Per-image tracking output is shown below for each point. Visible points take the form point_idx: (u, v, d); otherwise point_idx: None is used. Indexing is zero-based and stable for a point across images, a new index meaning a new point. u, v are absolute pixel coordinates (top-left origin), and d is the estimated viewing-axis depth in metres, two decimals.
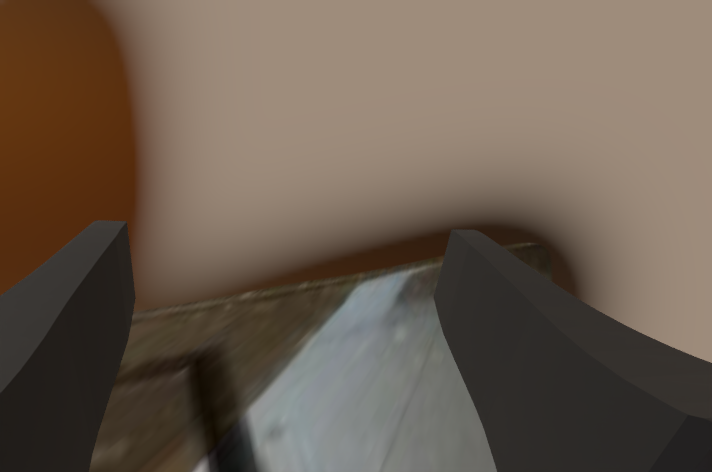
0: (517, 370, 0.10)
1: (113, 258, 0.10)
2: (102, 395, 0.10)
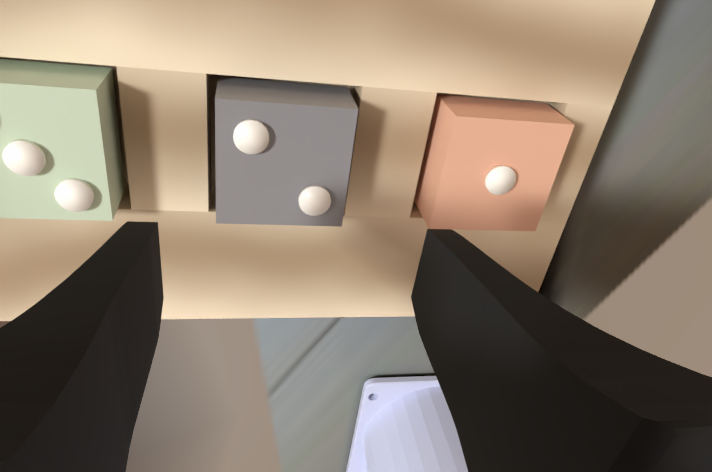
0: (487, 371, 0.10)
1: (147, 258, 0.10)
2: (137, 393, 0.10)
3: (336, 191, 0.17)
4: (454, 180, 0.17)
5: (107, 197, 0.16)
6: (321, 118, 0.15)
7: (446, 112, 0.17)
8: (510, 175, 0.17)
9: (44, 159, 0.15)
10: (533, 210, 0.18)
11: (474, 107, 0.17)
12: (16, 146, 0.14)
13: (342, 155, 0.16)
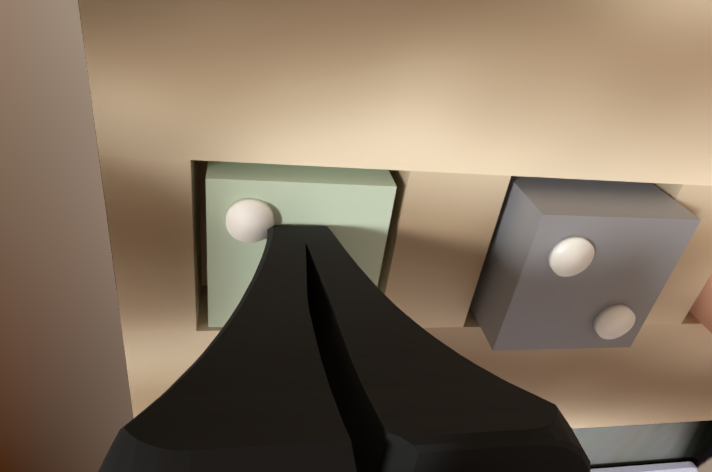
0: (326, 377, 0.09)
1: None
2: None
3: (639, 310, 0.14)
4: None
5: None
6: (655, 231, 0.12)
7: None
8: None
9: None
10: None
11: None
12: None
13: (662, 271, 0.13)
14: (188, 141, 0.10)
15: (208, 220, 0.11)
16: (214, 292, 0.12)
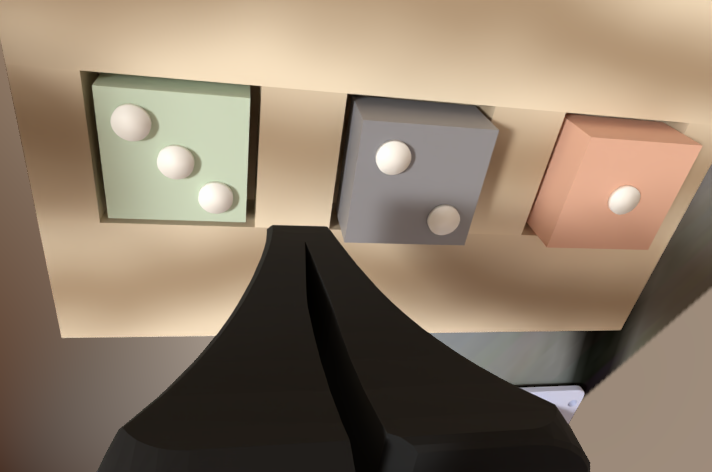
0: (326, 377, 0.09)
1: None
2: None
3: (464, 211, 0.17)
4: (579, 200, 0.17)
5: (244, 200, 0.16)
6: (462, 139, 0.15)
7: (575, 132, 0.17)
8: (635, 195, 0.17)
9: (194, 163, 0.15)
10: (649, 229, 0.18)
11: (601, 127, 0.17)
12: (170, 151, 0.15)
13: (476, 175, 0.16)
14: (76, 54, 0.13)
15: (98, 122, 0.14)
16: (110, 186, 0.15)
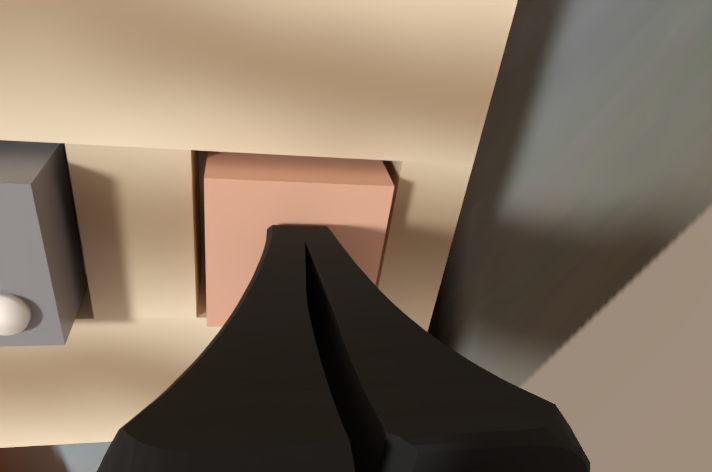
0: (326, 377, 0.09)
1: None
2: None
3: (37, 299, 0.11)
4: (227, 264, 0.12)
5: None
6: None
7: None
8: None
9: None
10: None
11: (250, 160, 0.12)
12: None
13: (28, 251, 0.10)
14: None
15: None
16: None
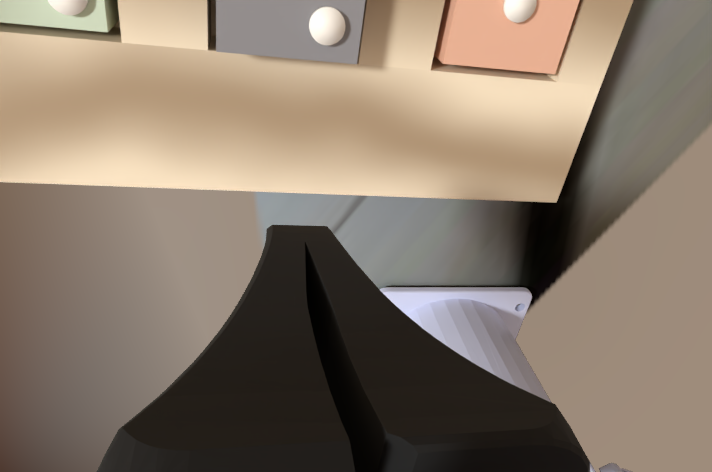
0: (326, 377, 0.09)
1: None
2: None
3: (351, 16, 0.15)
4: (471, 3, 0.16)
5: (102, 1, 0.15)
6: None
7: None
8: None
9: None
10: (553, 47, 0.17)
11: None
12: None
13: None
14: None
15: None
16: None
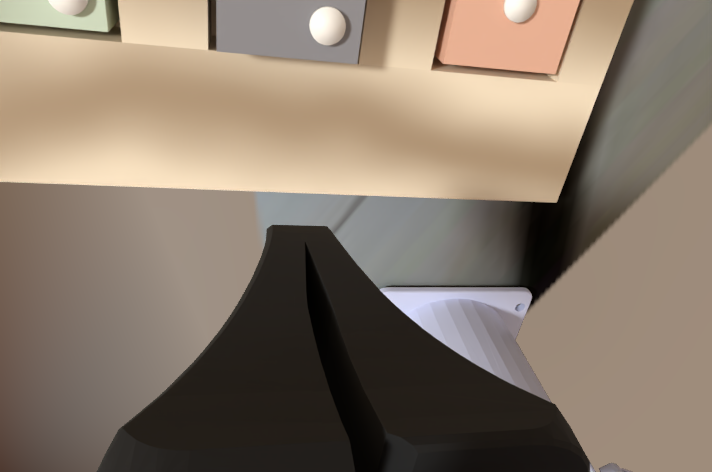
0: (325, 377, 0.09)
1: None
2: None
3: (351, 16, 0.15)
4: (471, 3, 0.16)
5: (102, 1, 0.15)
6: None
7: None
8: None
9: None
10: (553, 47, 0.17)
11: None
12: None
13: None
14: None
15: None
16: None
